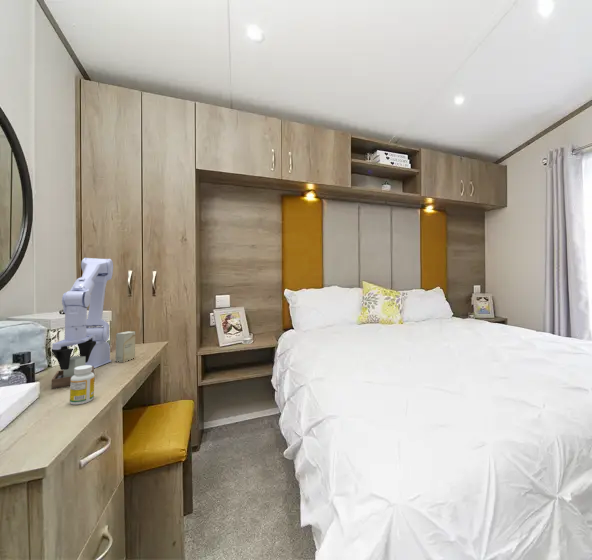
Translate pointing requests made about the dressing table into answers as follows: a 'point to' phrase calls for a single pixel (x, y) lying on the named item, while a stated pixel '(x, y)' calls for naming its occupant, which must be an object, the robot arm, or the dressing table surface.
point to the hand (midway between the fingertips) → (74, 365)
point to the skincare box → (125, 346)
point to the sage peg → (74, 365)
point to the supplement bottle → (82, 385)
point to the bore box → (62, 379)
